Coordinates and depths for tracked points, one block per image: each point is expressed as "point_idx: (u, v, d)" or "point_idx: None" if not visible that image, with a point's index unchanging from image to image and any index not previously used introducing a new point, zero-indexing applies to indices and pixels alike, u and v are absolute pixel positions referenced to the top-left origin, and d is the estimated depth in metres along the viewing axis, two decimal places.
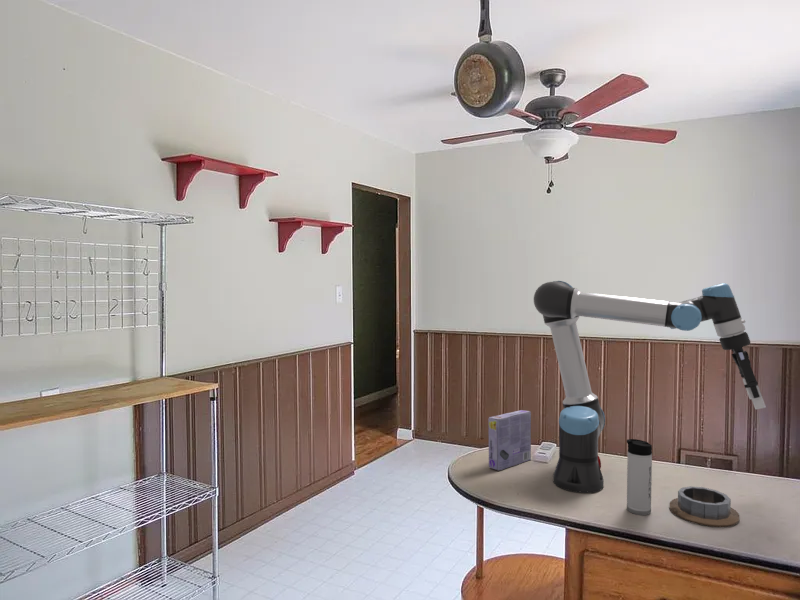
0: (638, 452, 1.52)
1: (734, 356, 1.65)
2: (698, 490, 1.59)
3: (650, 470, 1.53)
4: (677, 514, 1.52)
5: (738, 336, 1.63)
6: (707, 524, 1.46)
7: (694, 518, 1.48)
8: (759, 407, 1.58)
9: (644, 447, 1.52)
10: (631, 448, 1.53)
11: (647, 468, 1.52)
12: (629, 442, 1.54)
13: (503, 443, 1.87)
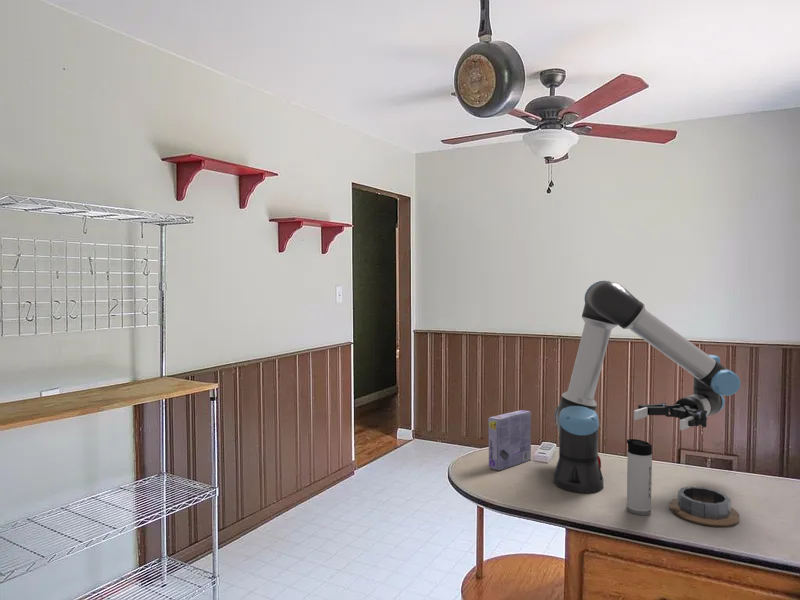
0: (638, 452, 1.52)
1: None
2: (698, 490, 1.59)
3: (650, 470, 1.53)
4: (677, 514, 1.52)
5: None
6: (707, 524, 1.46)
7: (694, 518, 1.48)
8: (683, 424, 1.55)
9: (644, 447, 1.52)
10: (631, 448, 1.53)
11: (647, 468, 1.52)
12: (629, 442, 1.54)
13: (503, 443, 1.87)
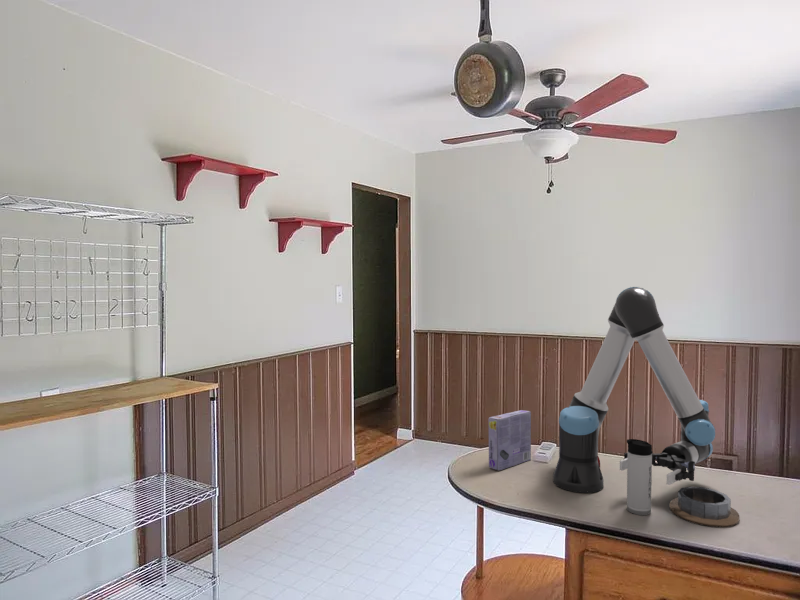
0: (638, 452, 1.52)
1: None
2: (698, 490, 1.59)
3: (650, 470, 1.53)
4: (677, 514, 1.52)
5: None
6: (707, 524, 1.46)
7: (694, 518, 1.48)
8: (670, 479, 1.50)
9: (644, 447, 1.52)
10: (631, 448, 1.53)
11: (647, 468, 1.52)
12: (629, 442, 1.54)
13: (503, 443, 1.87)
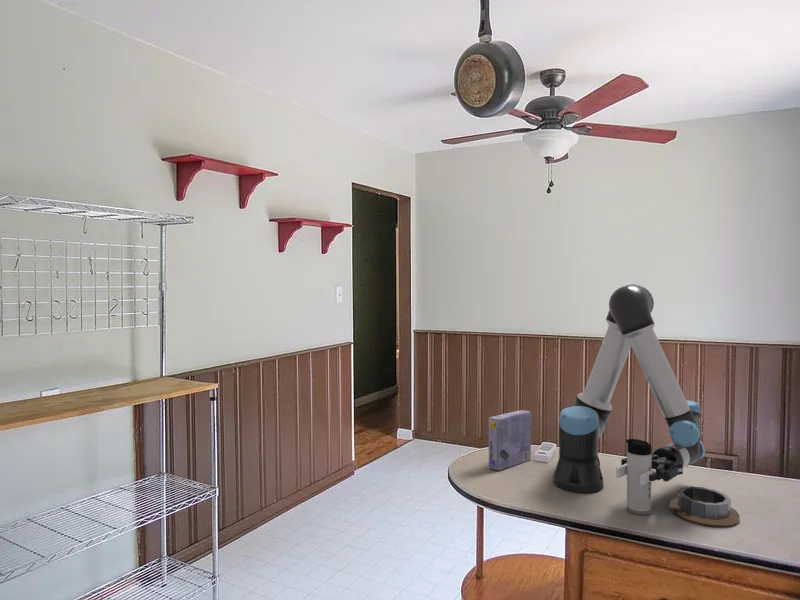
0: (637, 452, 1.52)
1: None
2: (698, 490, 1.59)
3: None
4: (677, 514, 1.52)
5: None
6: (707, 524, 1.46)
7: (694, 518, 1.48)
8: (643, 479, 1.49)
9: (643, 447, 1.52)
10: (631, 448, 1.54)
11: (647, 468, 1.52)
12: (628, 442, 1.54)
13: (503, 443, 1.87)
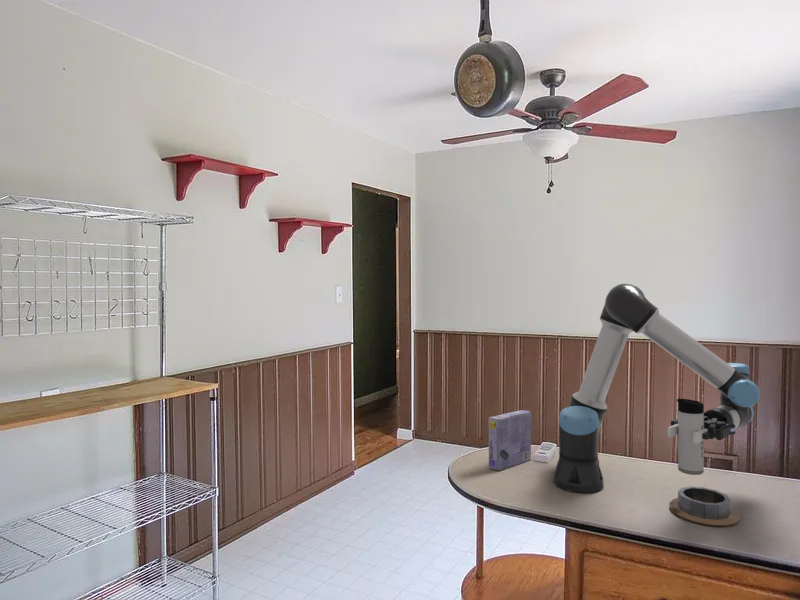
0: (690, 410, 1.50)
1: None
2: (698, 490, 1.59)
3: None
4: (677, 514, 1.52)
5: None
6: (707, 524, 1.46)
7: (694, 518, 1.48)
8: (697, 437, 1.47)
9: (696, 405, 1.49)
10: (682, 407, 1.51)
11: (699, 427, 1.50)
12: (680, 401, 1.52)
13: (503, 443, 1.87)
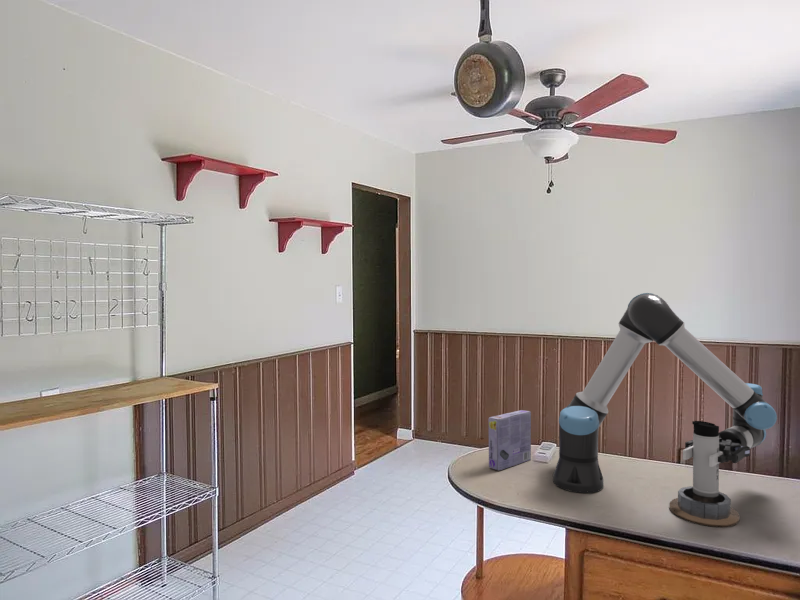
0: (705, 433, 1.50)
1: None
2: None
3: (718, 451, 1.51)
4: (677, 514, 1.52)
5: None
6: (707, 524, 1.46)
7: (694, 518, 1.48)
8: (712, 461, 1.47)
9: (712, 428, 1.50)
10: (698, 430, 1.51)
11: (715, 450, 1.50)
12: (695, 423, 1.52)
13: (503, 443, 1.87)
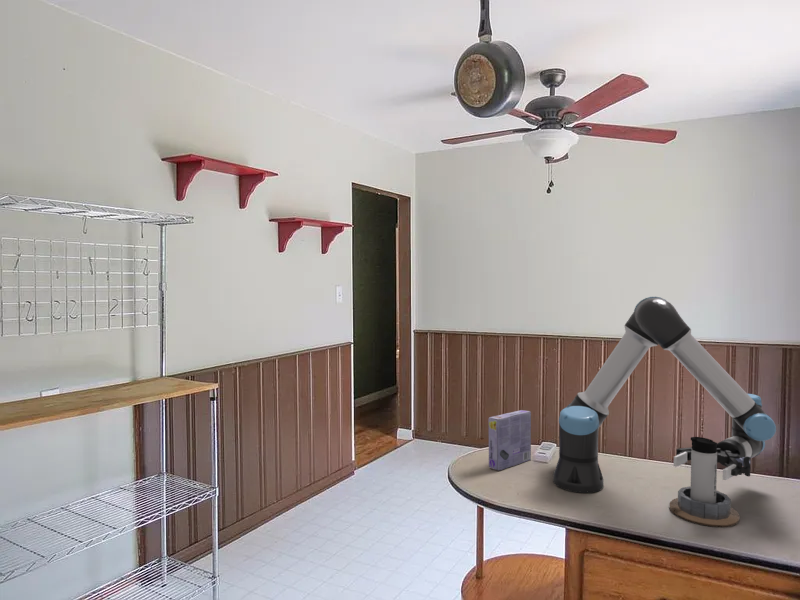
0: (703, 450, 1.51)
1: None
2: None
3: (715, 468, 1.51)
4: (677, 514, 1.52)
5: None
6: (707, 524, 1.46)
7: (694, 518, 1.48)
8: (726, 474, 1.46)
9: (710, 445, 1.50)
10: (696, 446, 1.52)
11: (713, 466, 1.50)
12: (694, 440, 1.52)
13: (503, 443, 1.87)
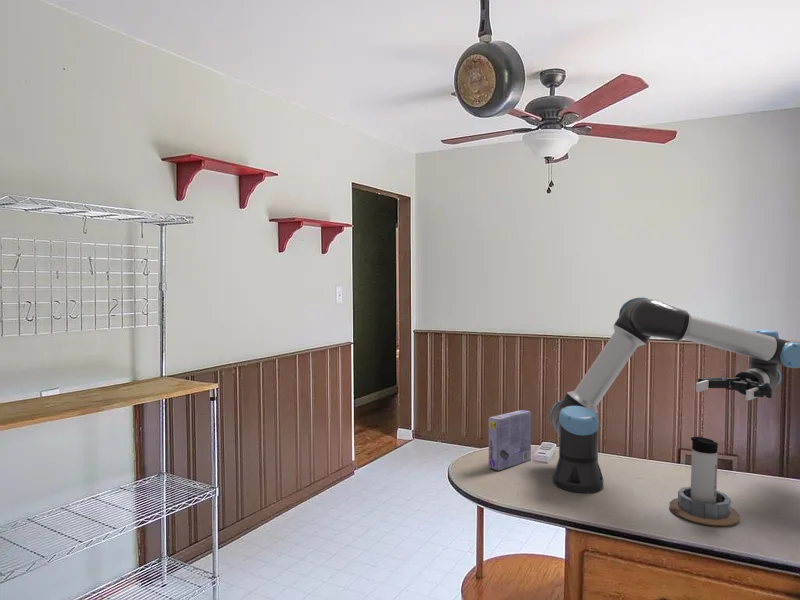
0: (704, 450, 1.51)
1: None
2: None
3: (716, 468, 1.51)
4: (677, 514, 1.52)
5: None
6: (707, 524, 1.46)
7: (694, 518, 1.48)
8: (749, 394, 1.56)
9: (710, 445, 1.50)
10: (697, 446, 1.52)
11: (713, 466, 1.50)
12: (694, 440, 1.52)
13: (503, 443, 1.87)
